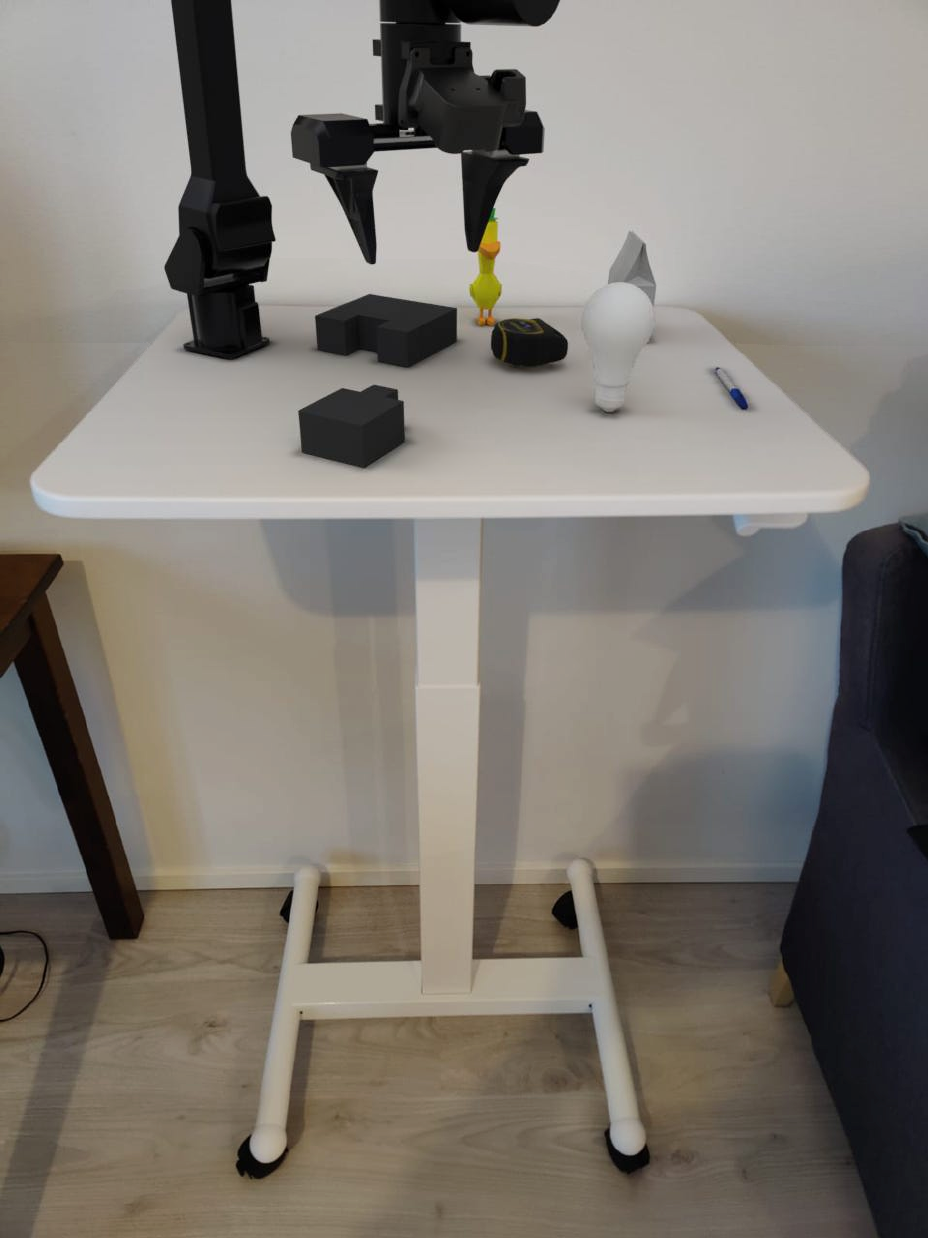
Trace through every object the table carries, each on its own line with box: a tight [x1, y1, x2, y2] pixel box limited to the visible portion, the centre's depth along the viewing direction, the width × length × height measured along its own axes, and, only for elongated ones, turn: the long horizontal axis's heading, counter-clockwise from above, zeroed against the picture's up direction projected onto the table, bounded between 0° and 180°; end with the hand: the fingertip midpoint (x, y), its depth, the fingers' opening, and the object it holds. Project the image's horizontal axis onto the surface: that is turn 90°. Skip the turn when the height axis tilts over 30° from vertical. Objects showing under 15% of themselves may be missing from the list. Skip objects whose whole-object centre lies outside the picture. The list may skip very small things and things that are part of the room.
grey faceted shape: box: [607, 230, 657, 344], centre depth 99 cm, size 4×7×10 cm, turn 3°
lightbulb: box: [580, 282, 656, 413], centre depth 79 cm, size 6×6×11 cm
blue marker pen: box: [715, 367, 749, 411], centre depth 87 cm, size 10×1×1 cm, turn 2°
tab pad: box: [297, 384, 406, 469], centre depth 74 cm, size 6×8×4 cm
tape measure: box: [490, 317, 569, 368], centre depth 92 cm, size 7×7×4 cm
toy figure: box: [468, 207, 503, 327], centre depth 101 cm, size 7×4×12 cm, turn 5°
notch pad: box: [314, 293, 458, 368], centre depth 96 cm, size 11×10×4 cm
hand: (423, 257), depth 73 cm, fingers open, 9 cm apart
